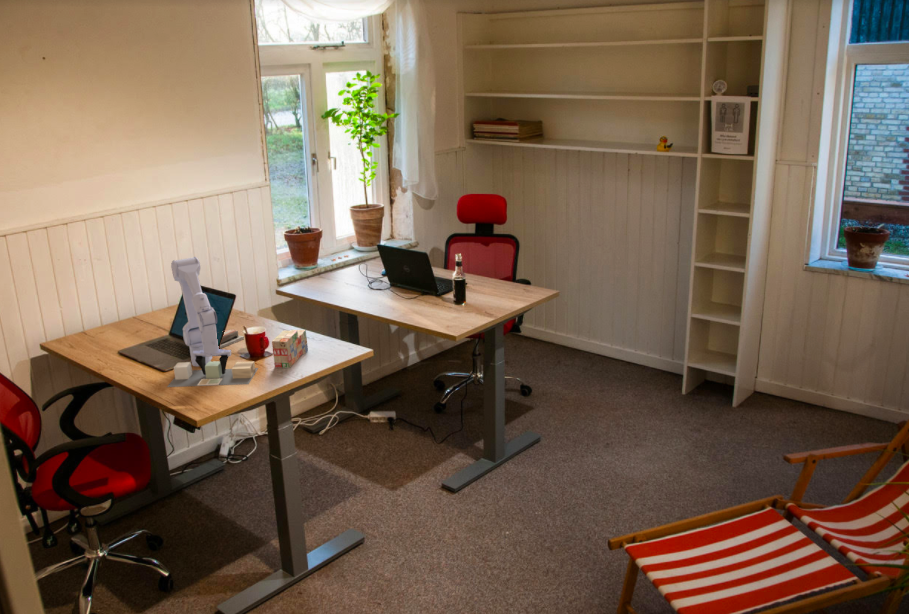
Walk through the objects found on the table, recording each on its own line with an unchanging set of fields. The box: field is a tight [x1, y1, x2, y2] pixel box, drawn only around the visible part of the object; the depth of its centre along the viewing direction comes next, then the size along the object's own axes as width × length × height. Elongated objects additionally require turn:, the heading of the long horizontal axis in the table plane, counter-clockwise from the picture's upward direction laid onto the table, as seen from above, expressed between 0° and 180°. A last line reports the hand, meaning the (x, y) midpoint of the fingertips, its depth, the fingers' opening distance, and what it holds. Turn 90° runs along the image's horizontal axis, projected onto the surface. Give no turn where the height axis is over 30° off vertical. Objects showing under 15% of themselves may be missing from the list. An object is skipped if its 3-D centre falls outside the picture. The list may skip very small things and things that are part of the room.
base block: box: [231, 361, 256, 379], centre depth 302 cm, size 7×7×4 cm
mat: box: [166, 367, 259, 388], centre depth 301 cm, size 16×31×1 cm, turn 90°
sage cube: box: [205, 360, 222, 378], centre depth 302 cm, size 5×5×5 cm
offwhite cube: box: [173, 361, 193, 380], centre depth 302 cm, size 5×5×5 cm
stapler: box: [220, 328, 245, 349], centre depth 339 cm, size 18×5×10 cm
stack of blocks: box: [271, 329, 309, 369], centre depth 317 cm, size 21×6×12 cm, turn 170°
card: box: [196, 378, 222, 387], centre depth 297 cm, size 6×8×1 cm
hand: (214, 373), depth 303 cm, fingers open, 7 cm apart
